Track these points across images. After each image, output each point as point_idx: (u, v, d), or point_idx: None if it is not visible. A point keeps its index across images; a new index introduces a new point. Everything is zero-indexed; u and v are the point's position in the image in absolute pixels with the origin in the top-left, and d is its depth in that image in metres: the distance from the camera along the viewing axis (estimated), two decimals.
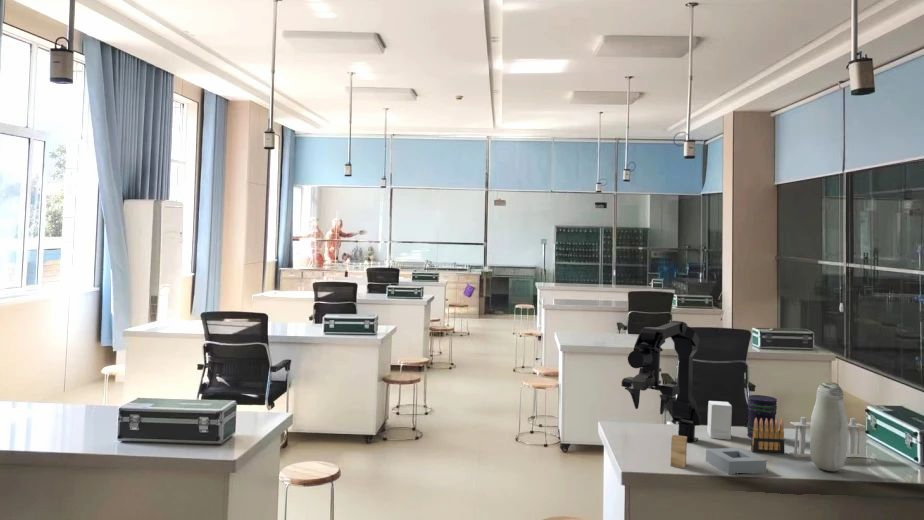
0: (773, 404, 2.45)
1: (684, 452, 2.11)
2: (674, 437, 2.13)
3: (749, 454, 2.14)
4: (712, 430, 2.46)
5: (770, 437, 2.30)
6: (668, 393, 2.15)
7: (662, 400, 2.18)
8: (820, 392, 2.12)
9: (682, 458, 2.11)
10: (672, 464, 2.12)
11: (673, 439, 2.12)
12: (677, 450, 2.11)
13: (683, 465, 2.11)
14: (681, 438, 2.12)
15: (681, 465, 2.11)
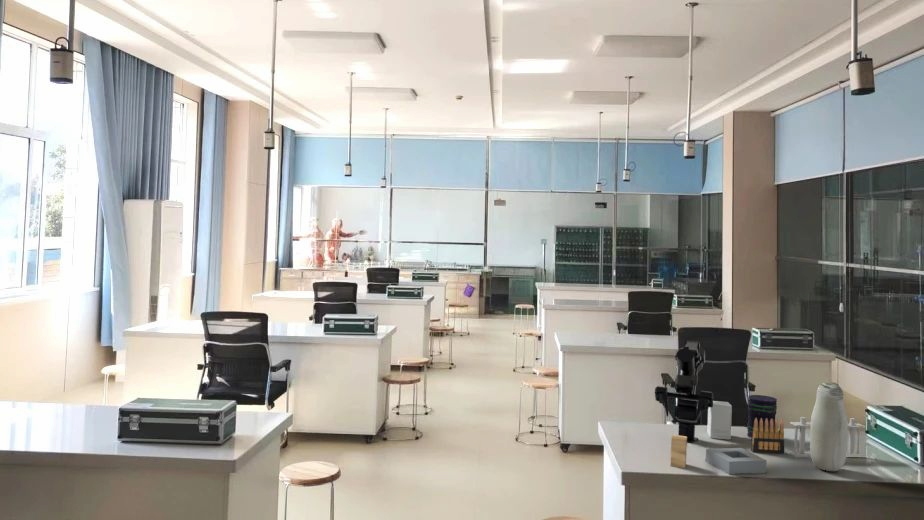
0: (773, 404, 2.45)
1: (684, 452, 2.11)
2: (674, 437, 2.13)
3: (749, 454, 2.14)
4: (712, 430, 2.46)
5: (770, 437, 2.30)
6: (709, 395, 2.20)
7: (700, 404, 2.21)
8: (820, 392, 2.12)
9: (682, 458, 2.11)
10: (672, 464, 2.12)
11: (673, 439, 2.12)
12: (677, 450, 2.11)
13: (683, 465, 2.11)
14: (681, 438, 2.12)
15: (681, 465, 2.11)
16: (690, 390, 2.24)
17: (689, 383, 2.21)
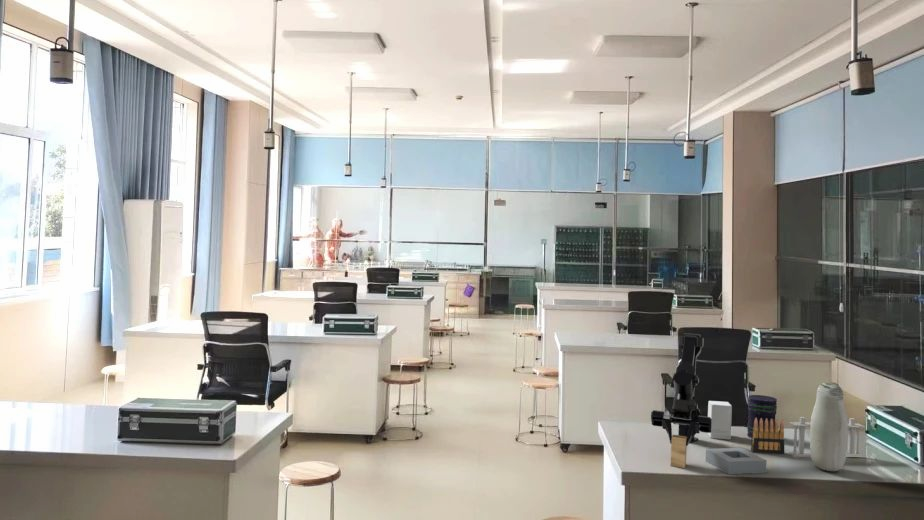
0: (773, 404, 2.45)
1: (684, 452, 2.11)
2: (674, 437, 2.13)
3: (749, 454, 2.14)
4: (712, 430, 2.46)
5: (770, 437, 2.30)
6: (708, 420, 2.12)
7: (690, 429, 2.13)
8: (820, 392, 2.12)
9: (682, 458, 2.11)
10: (672, 464, 2.12)
11: (673, 439, 2.12)
12: (677, 450, 2.11)
13: (683, 465, 2.11)
14: (681, 438, 2.12)
15: (681, 465, 2.11)
16: (688, 415, 2.16)
17: (686, 408, 2.12)
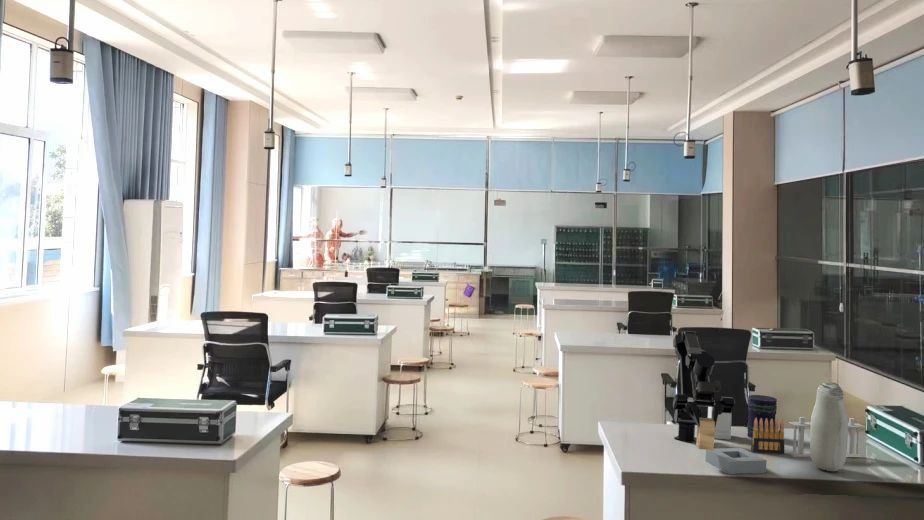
0: (773, 404, 2.45)
1: (713, 434, 2.10)
2: (702, 420, 2.11)
3: (749, 454, 2.14)
4: None
5: (770, 437, 2.30)
6: (732, 401, 2.13)
7: (716, 411, 2.12)
8: (820, 392, 2.12)
9: (711, 440, 2.10)
10: (701, 447, 2.10)
11: (702, 422, 2.10)
12: (706, 432, 2.10)
13: (712, 447, 2.10)
14: (709, 420, 2.11)
15: (710, 447, 2.10)
16: (711, 396, 2.15)
17: (714, 390, 2.11)
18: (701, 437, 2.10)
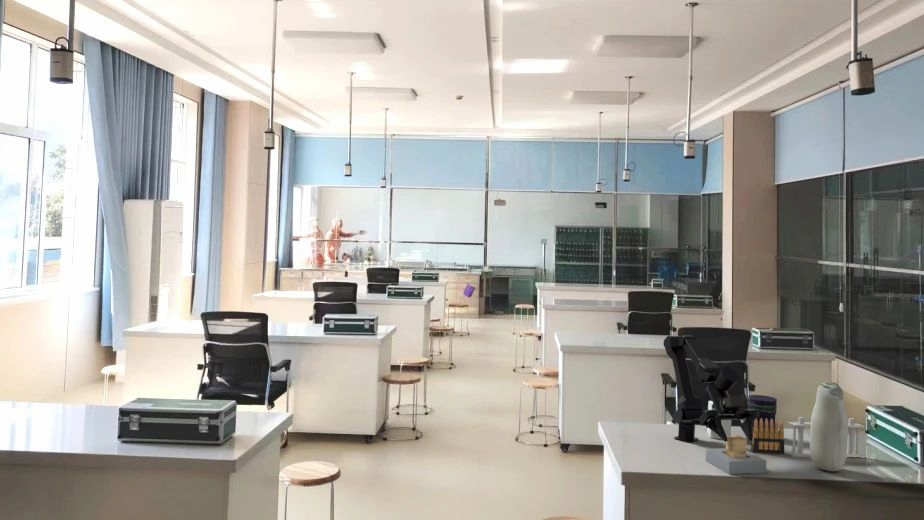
0: (773, 404, 2.45)
1: (745, 451, 2.12)
2: (734, 438, 2.12)
3: (749, 454, 2.14)
4: None
5: (770, 437, 2.30)
6: (756, 413, 2.17)
7: (749, 424, 2.15)
8: (820, 392, 2.12)
9: None
10: None
11: (735, 440, 2.11)
12: (739, 450, 2.11)
13: None
14: (740, 438, 2.12)
15: None
16: (736, 410, 2.17)
17: (743, 403, 2.13)
18: (735, 456, 2.11)
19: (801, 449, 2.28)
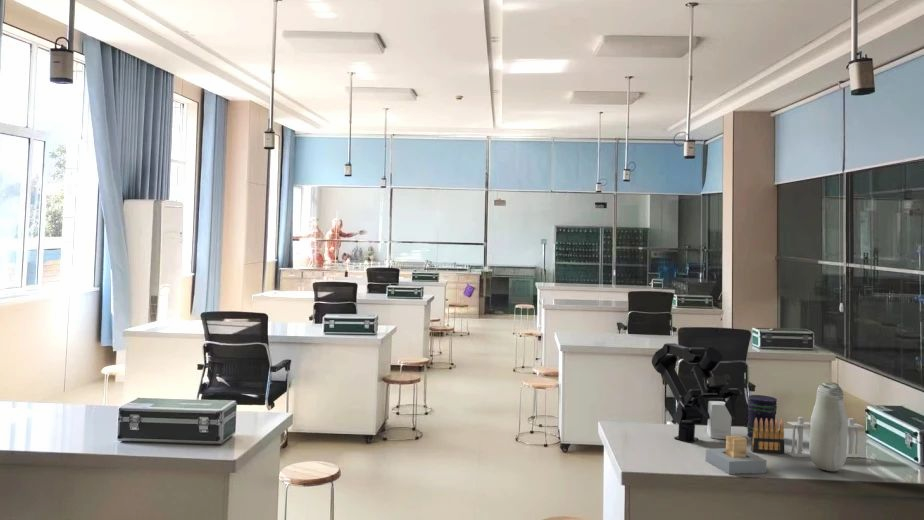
0: (773, 404, 2.45)
1: (745, 451, 2.12)
2: (734, 438, 2.12)
3: (749, 454, 2.14)
4: (712, 430, 2.46)
5: (770, 437, 2.30)
6: (739, 392, 2.26)
7: (733, 402, 2.24)
8: (820, 392, 2.12)
9: None
10: None
11: (735, 440, 2.11)
12: (739, 450, 2.11)
13: None
14: (740, 438, 2.12)
15: None
16: (720, 389, 2.26)
17: (726, 383, 2.22)
18: (735, 456, 2.11)
19: (800, 449, 2.28)
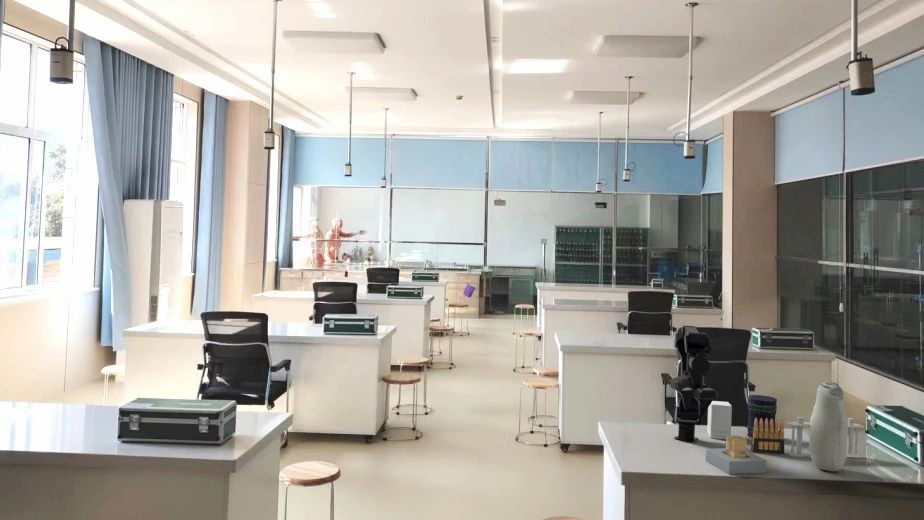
0: (773, 404, 2.45)
1: (745, 451, 2.12)
2: (734, 438, 2.12)
3: (749, 454, 2.14)
4: (712, 430, 2.46)
5: (770, 437, 2.30)
6: (699, 396, 2.20)
7: (699, 403, 2.23)
8: (820, 392, 2.12)
9: None
10: None
11: (735, 440, 2.11)
12: (739, 450, 2.11)
13: None
14: (740, 438, 2.12)
15: None
16: None
17: (677, 389, 2.25)
18: (735, 456, 2.11)
19: (800, 449, 2.28)
